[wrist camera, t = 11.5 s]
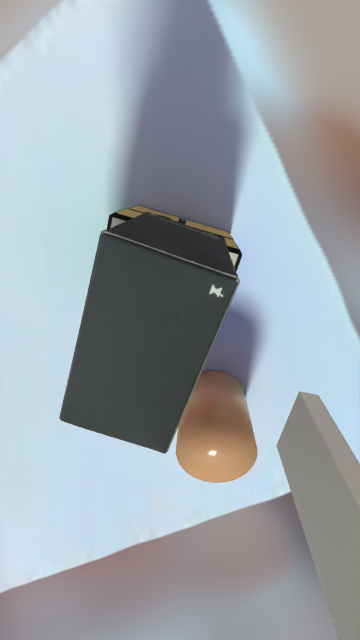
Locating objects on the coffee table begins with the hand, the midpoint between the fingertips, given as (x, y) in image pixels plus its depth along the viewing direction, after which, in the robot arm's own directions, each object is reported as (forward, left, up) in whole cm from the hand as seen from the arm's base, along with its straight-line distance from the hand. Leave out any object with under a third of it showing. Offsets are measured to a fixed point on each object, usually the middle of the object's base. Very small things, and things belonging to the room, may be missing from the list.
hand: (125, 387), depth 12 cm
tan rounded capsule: (+8, -16, -23) cm, 29 cm away
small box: (0, 0, -13) cm, 13 cm away
